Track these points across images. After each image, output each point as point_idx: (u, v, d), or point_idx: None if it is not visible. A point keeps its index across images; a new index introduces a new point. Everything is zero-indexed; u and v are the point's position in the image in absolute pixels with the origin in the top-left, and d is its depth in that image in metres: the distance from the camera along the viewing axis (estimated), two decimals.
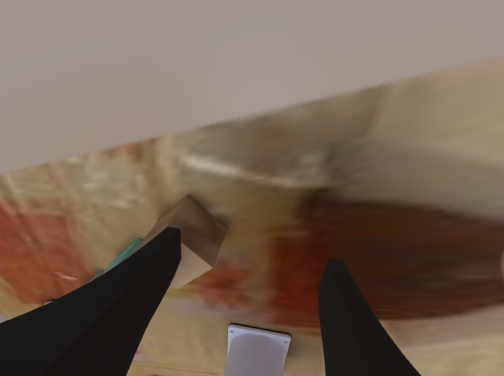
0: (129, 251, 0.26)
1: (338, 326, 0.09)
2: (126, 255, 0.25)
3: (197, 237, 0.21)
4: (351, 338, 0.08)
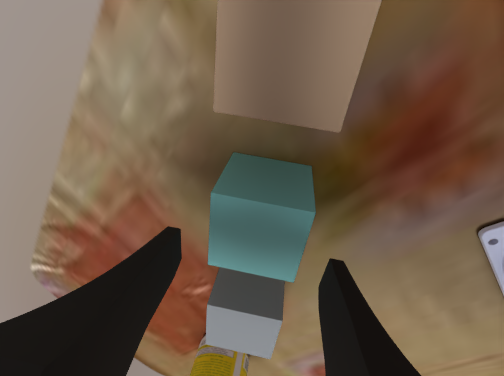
0: (227, 166, 0.15)
1: (338, 326, 0.09)
2: (225, 170, 0.14)
3: None
4: (351, 338, 0.08)
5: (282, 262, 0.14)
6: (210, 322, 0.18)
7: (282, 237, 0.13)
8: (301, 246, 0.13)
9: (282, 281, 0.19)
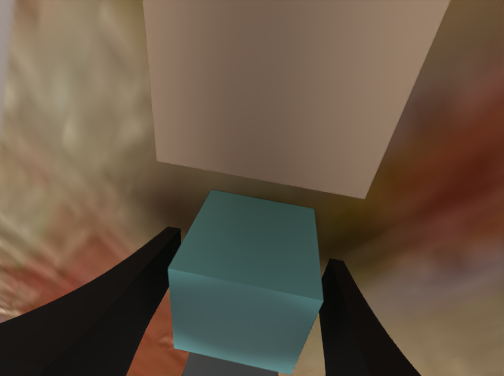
0: (200, 214, 0.11)
1: (338, 326, 0.09)
2: (196, 222, 0.10)
3: None
4: (351, 338, 0.08)
5: (274, 353, 0.10)
6: None
7: (274, 326, 0.09)
8: (301, 337, 0.09)
9: None
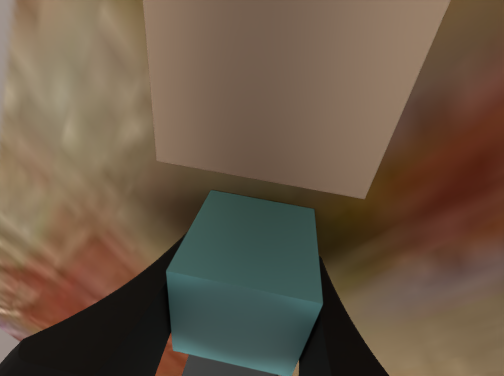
0: (199, 216, 0.11)
1: None
2: (195, 224, 0.10)
3: None
4: (319, 331, 0.08)
5: (274, 355, 0.10)
6: None
7: (273, 329, 0.09)
8: (301, 340, 0.09)
9: None
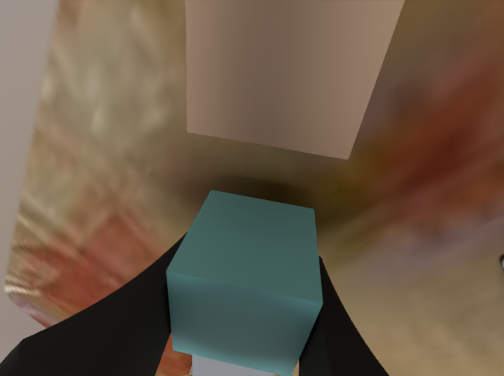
0: (199, 216, 0.11)
1: None
2: (195, 224, 0.10)
3: None
4: (319, 331, 0.08)
5: (273, 355, 0.10)
6: (196, 362, 0.16)
7: (273, 329, 0.09)
8: (301, 340, 0.09)
9: None
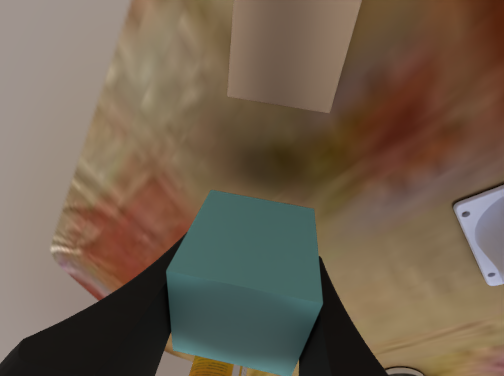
0: (199, 216, 0.11)
1: None
2: (195, 224, 0.10)
3: None
4: (319, 331, 0.08)
5: (273, 355, 0.10)
6: None
7: (273, 328, 0.09)
8: (301, 340, 0.09)
9: None
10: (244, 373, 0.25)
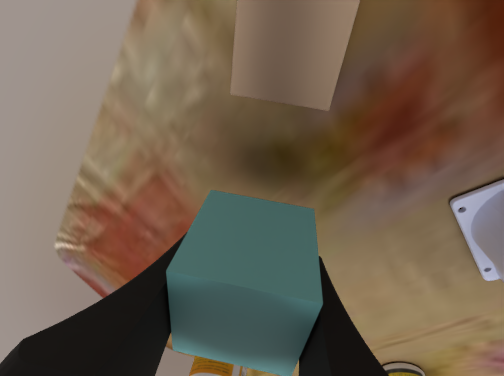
0: (199, 216, 0.11)
1: None
2: (195, 224, 0.10)
3: None
4: (319, 331, 0.08)
5: (273, 356, 0.10)
6: None
7: (273, 329, 0.09)
8: (301, 340, 0.09)
9: None
10: (245, 367, 0.26)
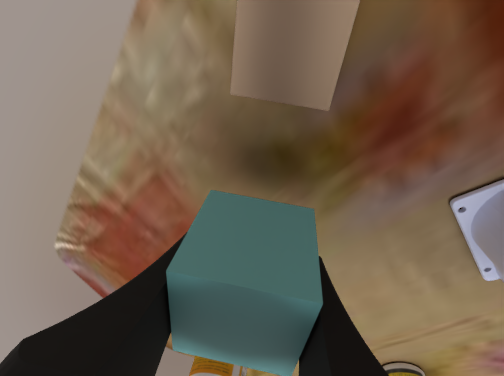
0: (199, 216, 0.11)
1: None
2: (195, 224, 0.10)
3: None
4: (319, 331, 0.08)
5: (273, 356, 0.10)
6: None
7: (273, 329, 0.09)
8: (301, 340, 0.09)
9: None
10: (245, 367, 0.26)
